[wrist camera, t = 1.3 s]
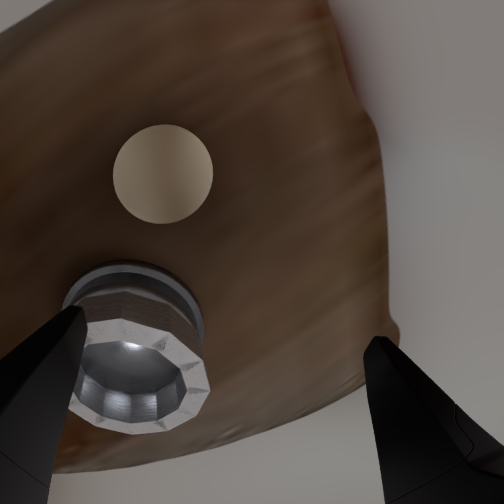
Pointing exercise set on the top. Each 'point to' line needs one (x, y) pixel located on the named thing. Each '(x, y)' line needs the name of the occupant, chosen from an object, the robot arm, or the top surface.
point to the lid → (162, 174)
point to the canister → (138, 349)
